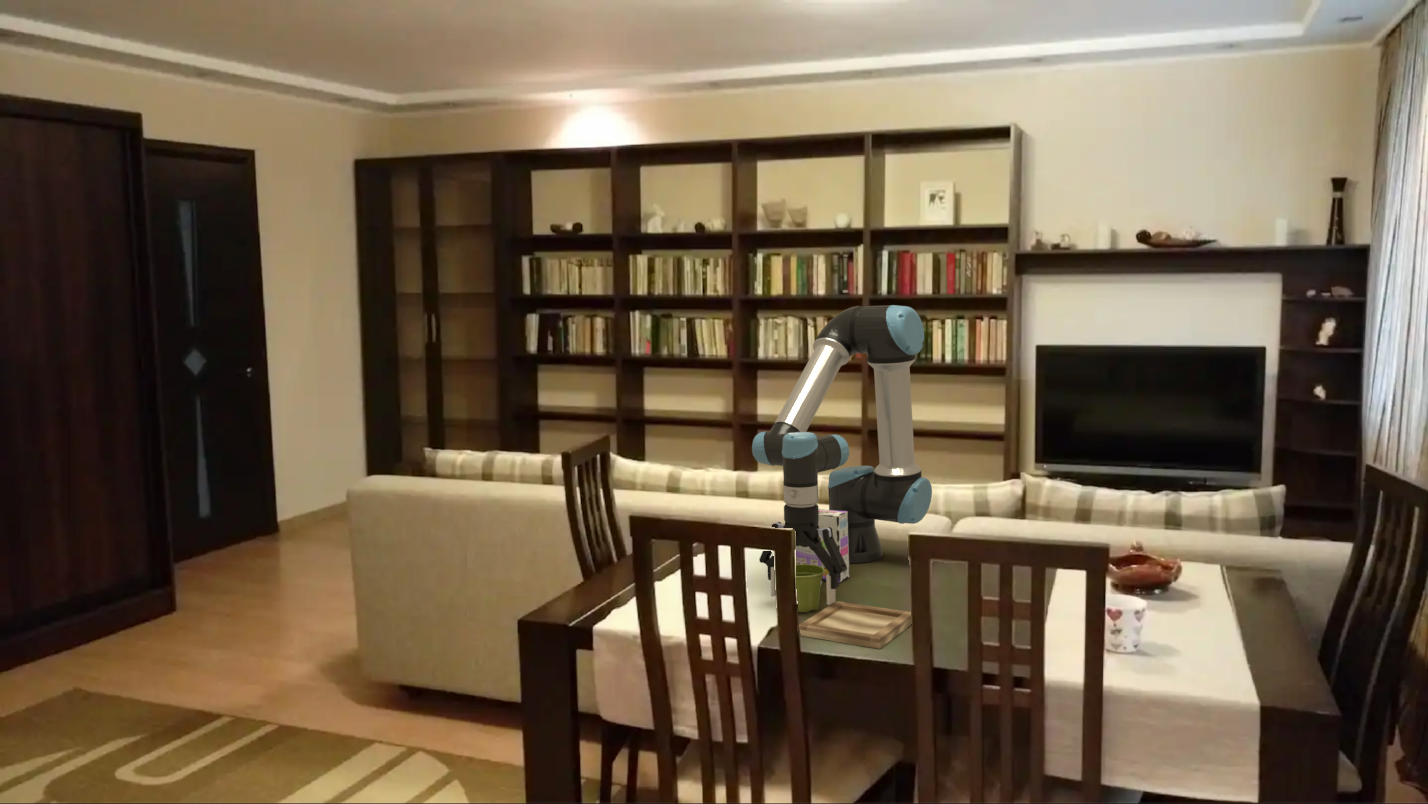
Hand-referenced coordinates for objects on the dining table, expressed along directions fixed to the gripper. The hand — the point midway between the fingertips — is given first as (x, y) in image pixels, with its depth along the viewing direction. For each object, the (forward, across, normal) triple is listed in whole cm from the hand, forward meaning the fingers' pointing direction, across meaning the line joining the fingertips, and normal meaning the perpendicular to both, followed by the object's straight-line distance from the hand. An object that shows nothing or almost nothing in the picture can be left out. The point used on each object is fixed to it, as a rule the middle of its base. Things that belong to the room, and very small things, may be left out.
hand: (803, 599), depth 232 cm
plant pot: (+2, 0, 0) cm, 2 cm away
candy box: (+2, -8, +23) cm, 25 cm away
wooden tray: (+2, +16, -7) cm, 18 cm away
